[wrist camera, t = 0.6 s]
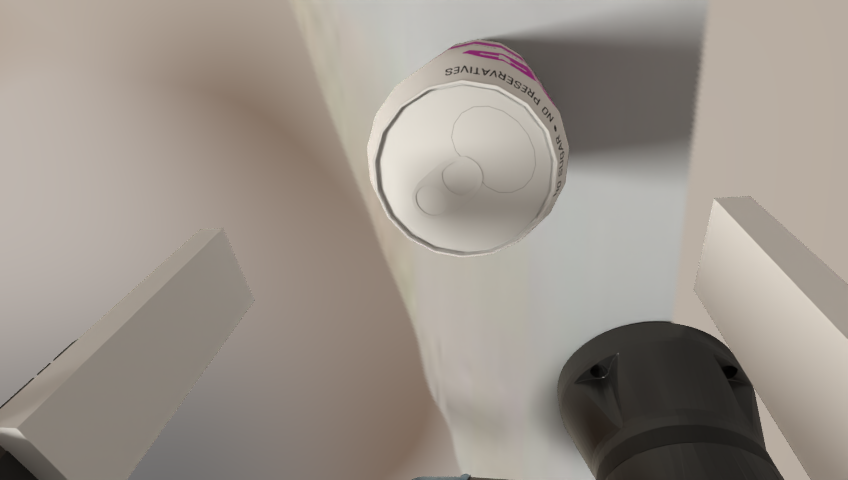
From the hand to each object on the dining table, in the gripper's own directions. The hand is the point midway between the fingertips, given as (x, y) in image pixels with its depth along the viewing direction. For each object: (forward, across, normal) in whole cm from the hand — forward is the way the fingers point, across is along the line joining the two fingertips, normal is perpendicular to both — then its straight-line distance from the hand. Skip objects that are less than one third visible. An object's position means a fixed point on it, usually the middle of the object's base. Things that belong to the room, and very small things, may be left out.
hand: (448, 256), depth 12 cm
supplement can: (+20, 0, +1) cm, 20 cm away
